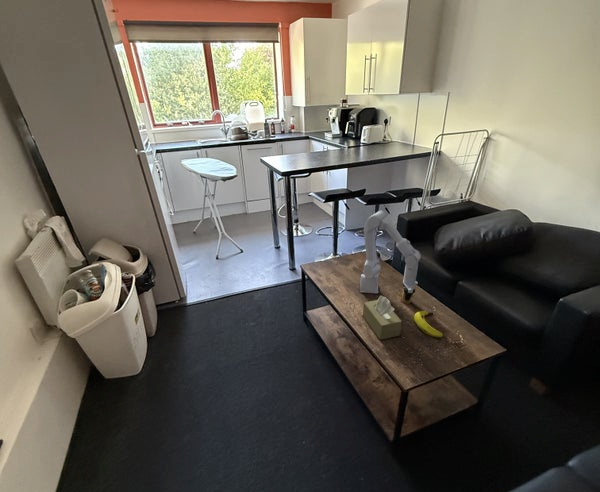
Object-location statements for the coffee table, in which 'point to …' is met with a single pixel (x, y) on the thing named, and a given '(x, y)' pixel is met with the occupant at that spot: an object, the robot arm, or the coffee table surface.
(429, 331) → the banana
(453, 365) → the coffee table surface
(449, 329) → the coffee table surface
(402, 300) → the pepper mill
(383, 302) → the tissue dispenser
